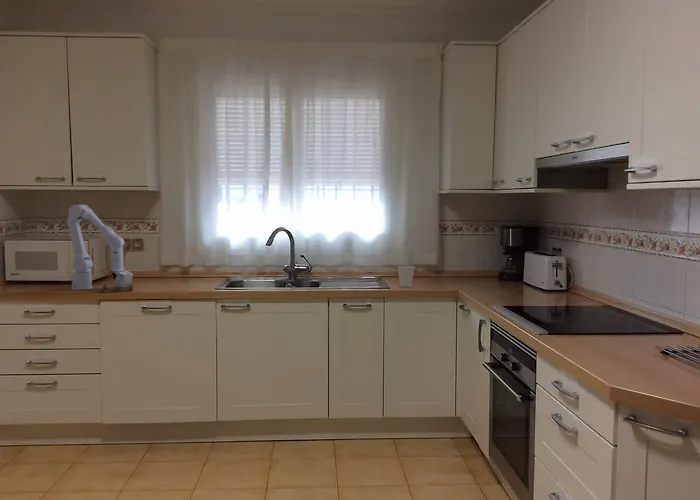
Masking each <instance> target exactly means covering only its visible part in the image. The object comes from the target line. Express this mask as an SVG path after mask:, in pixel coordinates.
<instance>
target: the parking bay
mask: <svg viewBox="0 0 700 500" xmlns="http://www.w3.org/2000/svg"><path fill="white" fill-rule="evenodd" d="M133 290H134V283H131V284H130V286H125V287H113V286H109V287H108V286H107V284H103V286H102V287H101V292H102V293H103V294H104V293H127V292H129V293H130V292H133Z"/></svg>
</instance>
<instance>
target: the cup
mask: <svg viewBox="0 0 700 500" xmlns="http://www.w3.org/2000/svg"><path fill="white" fill-rule="evenodd" d="M396 268H397V273H398V279H399V285H400V288H412V285H413V281H414V280H413V279H414V273H415V269H416V266H414V265H398V266H396Z"/></svg>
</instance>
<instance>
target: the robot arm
mask: <svg viewBox="0 0 700 500" xmlns="http://www.w3.org/2000/svg"><path fill="white" fill-rule="evenodd" d="M67 216H68V217H67V219H66V220H67V221H66V224H67V228H68V231H69V235H70V238H71V243H72V247H73V250H74V254H75V256H74V258H73V261H74V263H73V269H74V270H75V272H72V273H71V290H73V291H75V290H76V291H78V290H81V291H82V290H92V289H93V288H94V286H93V285H92V284H93V283H92V282H93V279H92V276H93V275H92V269H93V268H94V267H93V266H94V262H93V260H92V259H91V257H90V255H89V254H88V253H87V249H86V246H85V245H86V244H85V241H84V239H83V234H82V230H81V229H82V228H81V226H80V223H81V221H82V220H83V219H85V220H86V219H87V220H89V222H91V223H92V224H93V225H94V226H95V227H96V228H97V229H98V230H99V234H100V235H101V236H102V237H103V239H105V240H106V241H107V242H108V245H109V247H110V248H111V251H110V253H111V269H110V270H111V271H112V273H111V275H112V276H113V280H114V281H115V279H116V275H117V274H119V272H123V271H127V268H126V267H125V268H124V246H125V239H124V238H123V237H122V236H119V234H117V233H116V231H114V230H113V227H112V226H109V225H105V224H104V223H103V222H102V220H101V219H100V218H99V217H98V216H97V214H96V213H94V211H93V209H91V208H90V207H89V205H87V204H85V203H84V204H73V205H71V207H70V208H69V209H68V215H67Z"/></svg>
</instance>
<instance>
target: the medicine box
mask: <svg viewBox="0 0 700 500" xmlns="http://www.w3.org/2000/svg"><path fill="white" fill-rule="evenodd" d="M133 277H134V273H133V272H131V271H128V270H122V271H120V272H119V274H117V275H116V279H115V280H114V283H113V286H112V287H125V286H130V284H132V280H133Z"/></svg>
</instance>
